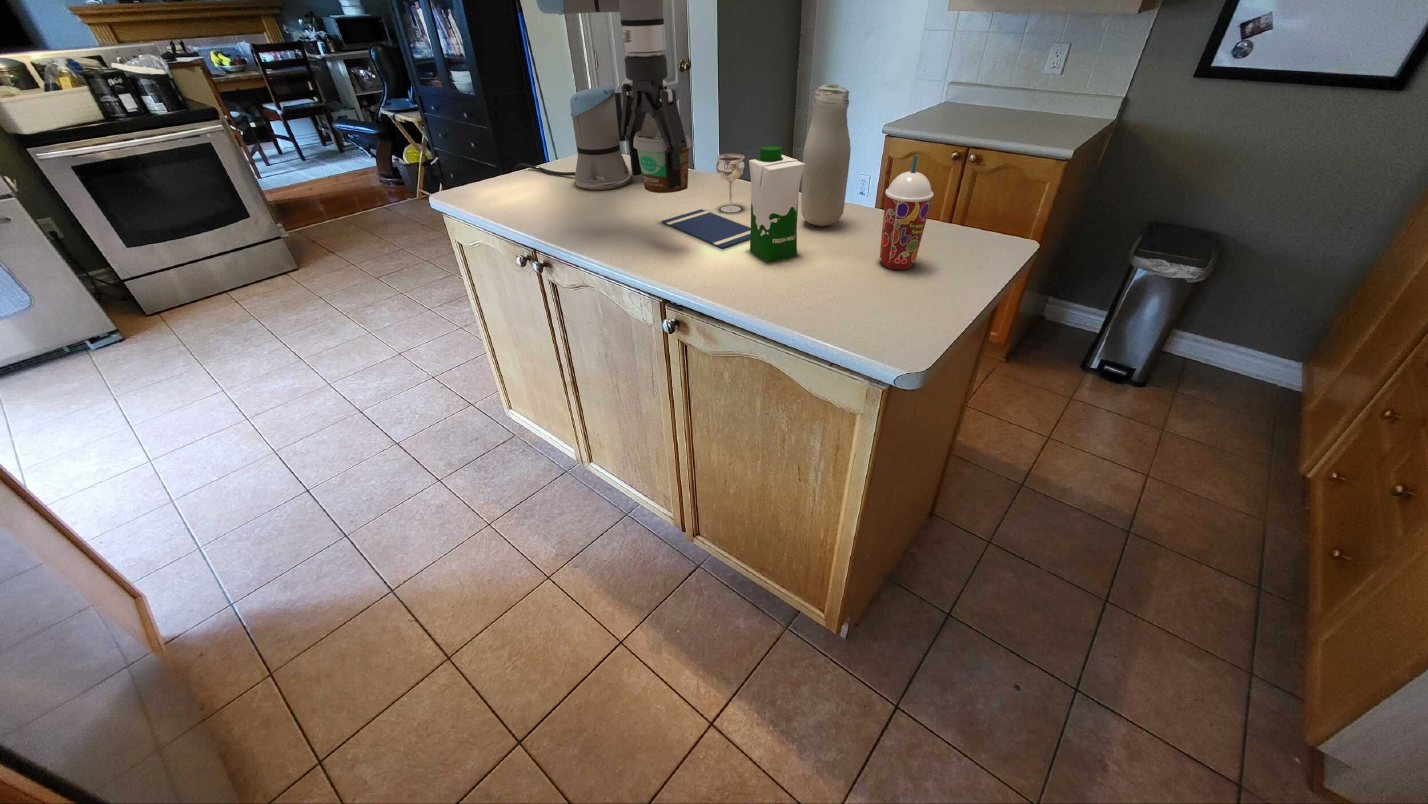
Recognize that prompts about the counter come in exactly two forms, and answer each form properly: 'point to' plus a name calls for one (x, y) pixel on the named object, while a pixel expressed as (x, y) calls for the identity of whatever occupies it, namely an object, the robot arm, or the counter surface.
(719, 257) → the counter surface
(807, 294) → the counter surface
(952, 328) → the counter surface
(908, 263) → the smoothie
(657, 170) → the food container
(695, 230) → the cloth
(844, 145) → the glass bottle
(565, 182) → the counter surface
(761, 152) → the milk carton
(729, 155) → the wineglass
